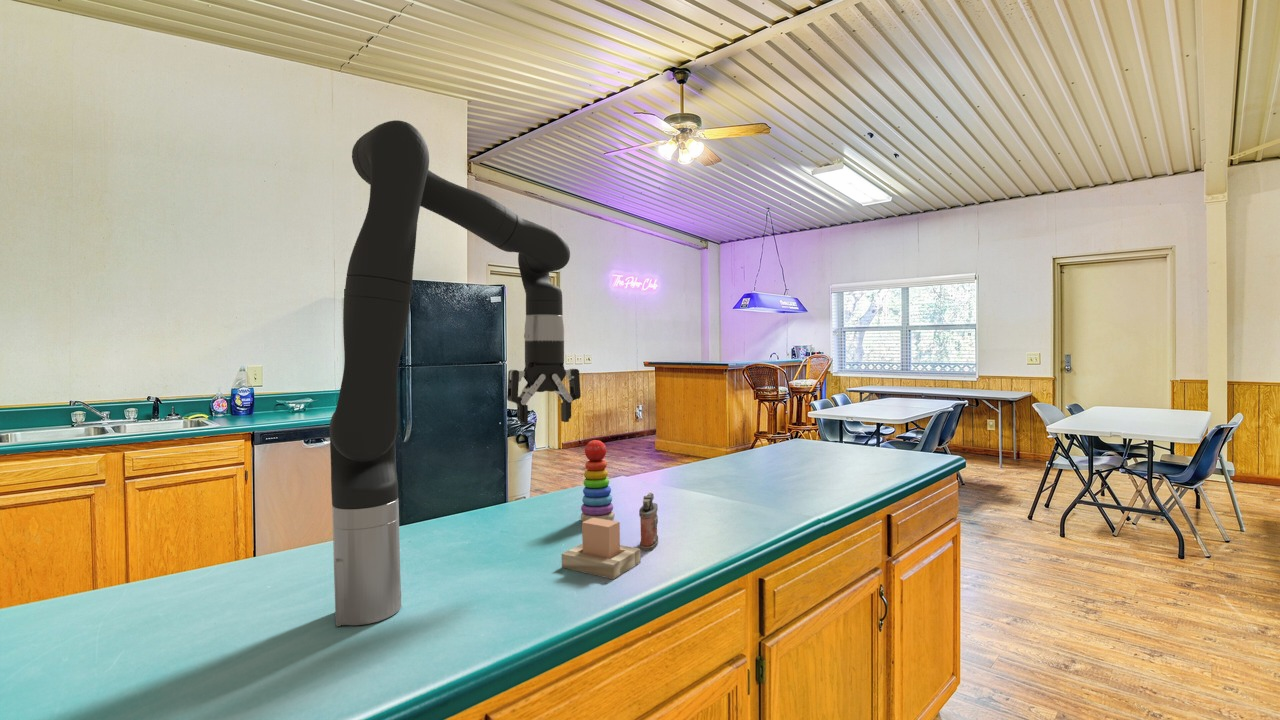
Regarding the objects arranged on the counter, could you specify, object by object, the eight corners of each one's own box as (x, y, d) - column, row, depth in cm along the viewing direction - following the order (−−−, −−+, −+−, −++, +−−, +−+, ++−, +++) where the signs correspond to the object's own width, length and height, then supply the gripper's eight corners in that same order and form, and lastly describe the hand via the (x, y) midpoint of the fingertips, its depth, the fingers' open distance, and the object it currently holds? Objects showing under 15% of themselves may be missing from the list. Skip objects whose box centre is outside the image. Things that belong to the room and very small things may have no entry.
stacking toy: (621, 518, 136) (619, 439, 136) (601, 527, 129) (599, 444, 129) (594, 513, 140) (592, 437, 140) (573, 522, 134) (571, 441, 133)
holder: (613, 579, 100) (613, 564, 100) (561, 567, 106) (561, 553, 106) (640, 562, 108) (640, 549, 107) (590, 552, 114) (590, 539, 113)
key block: (609, 571, 104) (608, 527, 103) (583, 565, 107) (582, 522, 107) (620, 564, 107) (619, 521, 106) (594, 559, 110) (593, 517, 110)
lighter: (654, 551, 113) (652, 501, 113) (637, 551, 114) (636, 500, 113) (660, 538, 121) (659, 491, 121) (644, 537, 122) (643, 490, 121)
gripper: (516, 338, 104) (516, 427, 104) (586, 339, 112) (586, 422, 112) (502, 339, 111) (502, 423, 111) (569, 340, 118) (569, 418, 118)
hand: (545, 423), depth 111 cm, fingers open, 8 cm apart
